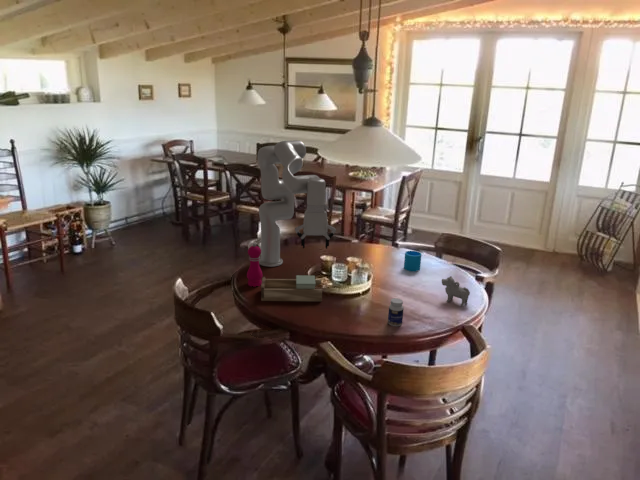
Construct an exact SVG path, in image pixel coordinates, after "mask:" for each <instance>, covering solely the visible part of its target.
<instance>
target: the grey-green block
mask: <svg viewBox="0 0 640 480" xmlns="http://www.w3.org/2000/svg"><path fill="white" fill-rule="evenodd" d="M295 279H296V289H315V285H316V283H315V279H316V275H309V274H308V275H304V274H303V275H301V274H300V275H299V274H298V275H295Z"/></svg>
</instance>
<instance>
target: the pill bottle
mask: <svg viewBox="0 0 640 480" xmlns="http://www.w3.org/2000/svg"><path fill="white" fill-rule="evenodd" d="M403 304H404V301H403V299H401V298H397V297H395V298H391V299H390V305H389V306H388V315H387V316H388V317H387V324H388V325H390V326H391V327H400V326H402V324H403V319H404V318H403V317H404V305H403Z"/></svg>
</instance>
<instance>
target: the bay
mask: <svg viewBox="0 0 640 480" xmlns="http://www.w3.org/2000/svg"><path fill="white" fill-rule="evenodd" d="M261 280H262V284H261V285H260V287H261V288H260V295H261V296H260V297H261V298H260V300H261V302H323V288H321V289H296V278H266V276H263V277H262V278H261ZM315 283H316V285H315V286H317V285H319V284H321V285H322V279H319V278H318V279H316V278H315Z"/></svg>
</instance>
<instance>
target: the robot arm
mask: <svg viewBox="0 0 640 480" xmlns="http://www.w3.org/2000/svg"><path fill="white" fill-rule="evenodd" d="M306 154H307V147H306V145H305V144H304V142H303V141H301V140H297V139H295V140H282V141H281V140H280V141H279V142H277V143H276V144H275V145H267V146H265V145H264V146H263V147H261V148H259V149H258V152H257V162H258V166H259V169H260V189H261V190H260V191H261V196H262V198H263V199H265V200H267V202H264V203H262V204H260V206H259V207H258V214H259V215H258V216H259V220H260V249H261V254H260V260H259V266H261V267H262V266H263V267H269V268H270V267H271V268H273V267H279V266H281V265H282V264H283V263H284V260H283V258H281V229H280V226H279V225H278V224H277V223H276V222H277V221H284V220H291V219H292V218H293V217H294V213H295V211H294V210H295V201H294V199H295V195H299V194H306V210H304V213H303V224H300V225H298V226H296V227H294V231H295V233H296V235H297V236H298V237H299V238H300V239H301V241H300V244H301V245H300V246H301V247H302V249H305V243H306V242H305V240H306V236H324V237H325V249H328V247H330V240H331V238H332V237H333V236H334V235H335V234H336V232H337V229H336V228H335V227H334V226H332V225H329V223H328V221H329V220H328V213H327V210H329V205H326V181H325V179H324V178H320V176H318V175H317V174H306V175H305V174H304V175H294V174H296V173H298V172H299V171H300V170H302V168H303V164H304V162H303V159H304V158H306V157H305V156H306ZM278 164H281V165H282V167H283V169H282V174H281V175H282V176H281V177H282V178H279V175H280V173H279V169H278V167H277V166H276V165H278ZM281 199H282V200H281ZM268 200H269V201H268ZM271 200H275V201H271ZM276 200H278V201H276ZM302 229H303V231H302V232H303V233H301V232H300V230H302ZM328 230H330V231H331V232H330V233H328Z"/></svg>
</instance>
